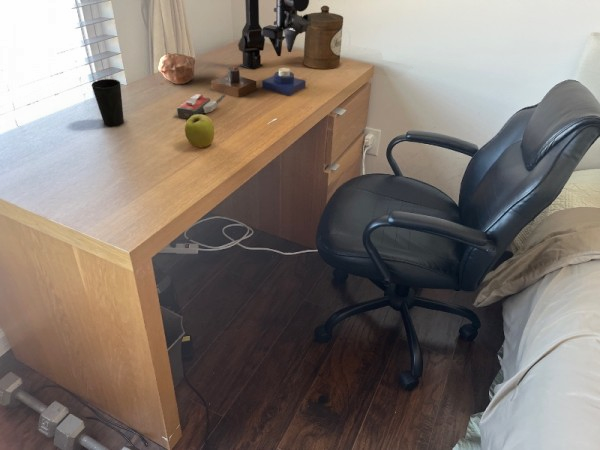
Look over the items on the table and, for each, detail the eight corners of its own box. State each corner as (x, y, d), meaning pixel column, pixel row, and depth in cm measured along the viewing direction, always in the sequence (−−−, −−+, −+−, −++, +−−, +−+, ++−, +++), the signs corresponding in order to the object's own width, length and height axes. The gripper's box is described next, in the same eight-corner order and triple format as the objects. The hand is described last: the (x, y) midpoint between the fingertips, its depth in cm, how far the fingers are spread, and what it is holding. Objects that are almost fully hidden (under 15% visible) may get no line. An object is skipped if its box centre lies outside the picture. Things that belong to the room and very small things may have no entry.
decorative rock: (161, 87, 167) (157, 58, 161) (158, 77, 175) (154, 49, 170) (199, 84, 171) (196, 56, 165) (194, 74, 179) (192, 47, 173)
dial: (234, 83, 164) (234, 71, 162) (225, 81, 166) (225, 68, 163) (242, 80, 167) (241, 68, 165) (233, 78, 169) (232, 65, 166)
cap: (276, 75, 168) (276, 69, 167) (282, 72, 171) (282, 67, 169) (285, 78, 166) (285, 72, 165) (292, 75, 169) (292, 69, 168)
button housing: (262, 88, 170) (262, 74, 167) (278, 80, 177) (278, 67, 174) (290, 95, 165) (290, 81, 162) (305, 87, 172) (306, 74, 169)
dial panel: (212, 89, 167) (211, 80, 166) (230, 81, 174) (229, 73, 172) (238, 97, 162) (238, 88, 160) (256, 89, 169) (256, 80, 167)
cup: (132, 120, 144) (125, 81, 137) (117, 130, 138) (108, 89, 131) (111, 116, 146) (103, 77, 139) (94, 125, 140) (85, 85, 133)
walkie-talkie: (199, 122, 144) (227, 99, 160) (198, 108, 142) (226, 87, 157) (174, 118, 146) (203, 96, 162) (172, 104, 144) (202, 83, 159)
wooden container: (340, 70, 190) (345, 10, 177) (303, 68, 189) (305, 9, 176) (338, 58, 202) (343, 2, 189) (303, 57, 201) (305, 1, 188)
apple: (210, 131, 137) (210, 103, 130) (217, 150, 133) (216, 123, 125) (183, 134, 135) (180, 106, 127) (188, 154, 131) (186, 126, 123)
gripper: (289, 13, 145) (288, 65, 154) (321, 4, 158) (318, 52, 167) (260, 8, 150) (260, 58, 159) (293, -1, 163) (292, 46, 172)
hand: (284, 54), depth 164 cm, fingers open, 6 cm apart
